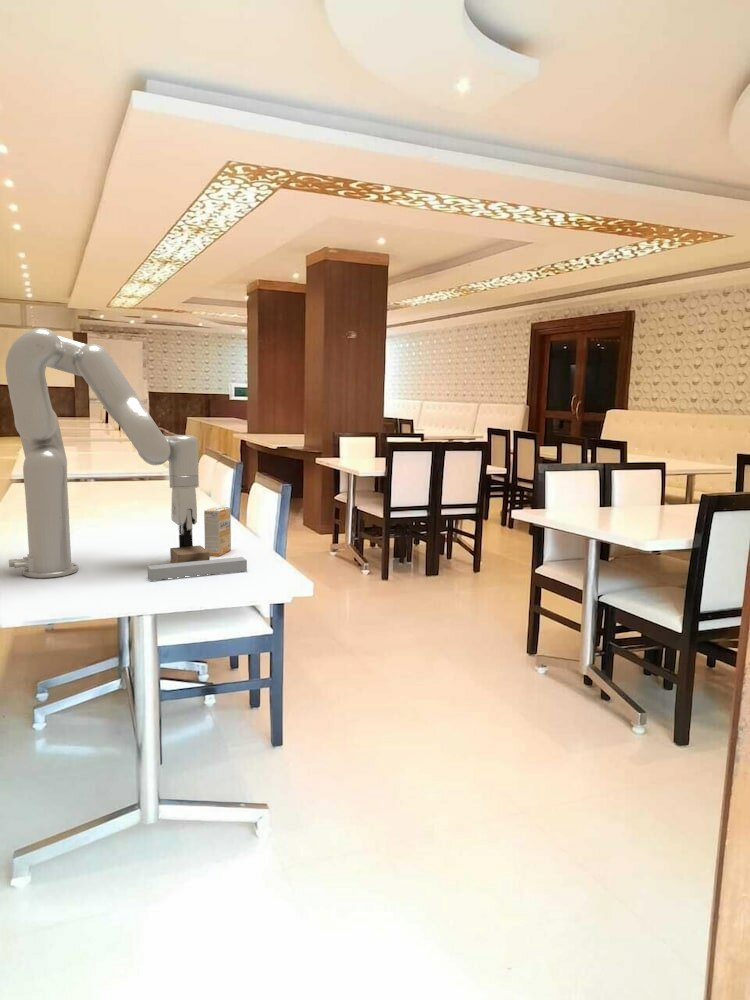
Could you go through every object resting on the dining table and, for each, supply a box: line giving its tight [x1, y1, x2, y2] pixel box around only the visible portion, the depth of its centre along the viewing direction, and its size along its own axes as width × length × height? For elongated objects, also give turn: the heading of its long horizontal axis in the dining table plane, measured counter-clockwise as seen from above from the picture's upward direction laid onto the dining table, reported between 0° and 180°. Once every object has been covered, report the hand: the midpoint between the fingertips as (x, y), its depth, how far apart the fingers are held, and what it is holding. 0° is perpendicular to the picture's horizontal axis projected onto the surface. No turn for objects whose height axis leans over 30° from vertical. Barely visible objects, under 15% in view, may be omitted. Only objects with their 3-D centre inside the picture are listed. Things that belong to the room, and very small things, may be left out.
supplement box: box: [203, 506, 232, 557], centre depth 197 cm, size 8×5×13 cm, turn 168°
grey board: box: [147, 556, 248, 582], centre depth 173 cm, size 24×4×3 cm, turn 118°
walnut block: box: [169, 545, 211, 564], centre depth 180 cm, size 8×9×5 cm
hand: (186, 548), depth 186 cm, fingers closed
